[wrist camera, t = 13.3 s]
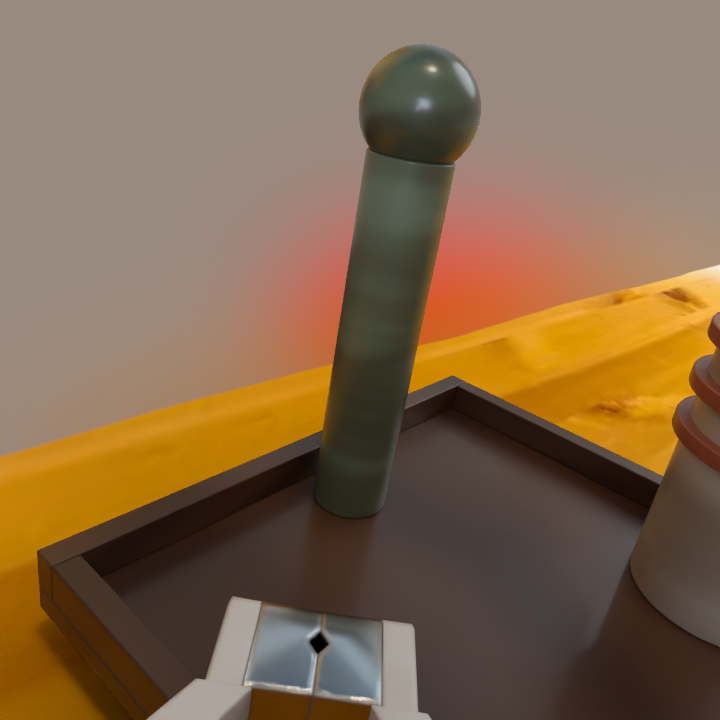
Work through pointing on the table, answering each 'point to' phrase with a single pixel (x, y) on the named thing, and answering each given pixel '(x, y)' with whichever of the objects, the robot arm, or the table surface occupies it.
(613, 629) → the tray
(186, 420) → the table surface
